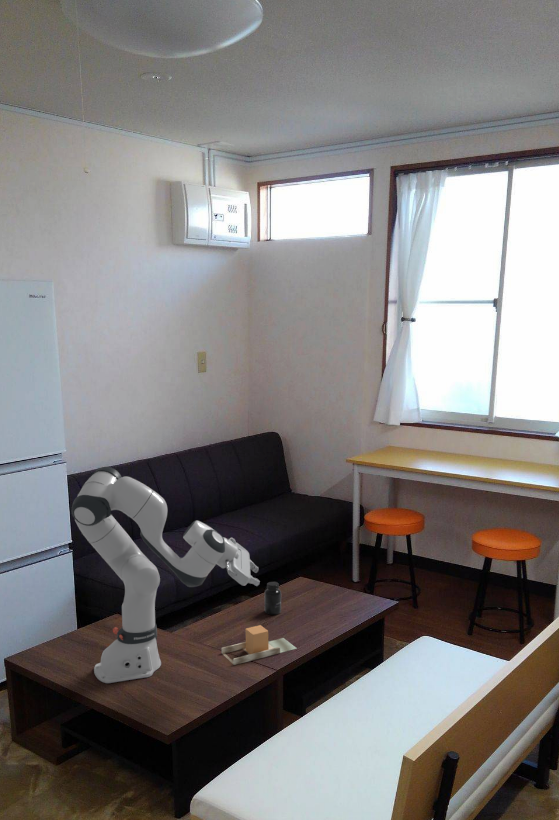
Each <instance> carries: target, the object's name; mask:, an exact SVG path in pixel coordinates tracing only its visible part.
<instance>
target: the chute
mask: <svg viewBox="0 0 559 820" xmlns="http://www.w3.org/2000/svg"><path fill="white" fill-rule="evenodd" d="M268 643H269V650H265V651H261V652H257V653H253V654H250V653H249V652H247V651H246V641H244V642H239V643H237V644H236V643H235V644H232V645H227V646H223V647H221V655H223V656H224V657H225V658H226V659H227V660H228V661H229V662H230V663H231V664H232V665H233V666H236V665H240V664H244V663H247V662H251V661H254V660H259V659H263V658H266V657H270V656H271V657H272V656H274V655H277V654H278V655H279V654H281V653H285V652H290V651H292V650H297V649H298V648H297V647H296V646H294V644H292V643H291V642H289V641H288V640H287V639H285V638H284V637H281V638H278V639H274V640H273V639H272V640H268ZM240 650H243V651H244V652H246V653H247V654H245V655H242V656H238V657H235V658H233V659H232V658H230V656H228V655H227V654H229V653H231V652H235V651H240Z"/></svg>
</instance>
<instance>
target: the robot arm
mask: <svg viewBox="0 0 559 820" xmlns="http://www.w3.org/2000/svg"><path fill="white" fill-rule="evenodd" d="M112 511H120V512H122V513H123V514H125V515H126V516H127V517H128V518H130V519H131V520H133V521H134V522H135V523H136V524H137V525H138V527H139V528H140V534H139V535H140V537H141V539H142V541H143V542H144V543H145V544H146V545H147V547H148V549H150V550H151V551H152V552H153V553H154V554H155V555H156V556H157V557H158V558H159V559H160V560H161V561H162V562H163V563H164V564H165V565H166V566H167V567H168V568H169V569H170V570H171V571H172V573H174V575H175V576H176V577H177V578H178V579H179V581H180V582H181V583H182V584H184V585H185V586H187V587H188V588H196V587H199V586H202V585H203V583H204V582H205V580H206V579H207V577H208V575H209V574H211V572H212V570H213V569H214V567H215V566H216V565H217V566H218V567H220V568H221V569H226V571H227V574H228V576H230V577H231V578H232V579H233V580H234V581H236V582H237V583H238V584H239V585H241V586H245V587H246V586H247V584H250V585H251V584H252V585H254V586H256V587H258V586H259V585H260V582H261V581H260V580H259V579H258V578H256V577H253V575H251V571H252V572H254V573H255V574H257V573H258V572H259V566H257V565H256V564H255V563H254V562H253V561H252V560H251V558H250V552H249V551H248V550H247V549H246V548H245V547H243V546H242V545H241V544H239V543H238V542H236V539H235V538H233V537H230V538H226V537H224V536H222V534H221V533H219V532H218V531H217V530H215V529H213V528H212V527H211V526H210V525H208V524H206V523H204V522H202V521H200V520H194V521H193V522H192V523H191V524H190V525H189V526H188V527H187V529H186V530H185V531H184V533H183V534H182V535H183V536H182V538H183V539H184V540H185V542H186V543H188V545H190V546H191V547H190V549H189V550H188V551H187V552H186V553H185V555H184V556H183V557H180V556H179V555H178V554H177V553H176V552H174V550H173V549H172V548H171V547H170V546H169V545H168V544H167V542H165V541H164V539H163V531H164V528H165V525H166V521H167V518H168V505H167V502H166V500H165V498H164V497H162V495H160V494H159V493H158V492H156V491H155V490H154V489H152V488H150V487H149V486H147V484H144V483H142V482H141V481H139V480H137V479H136V478H133V477H131V476H122V475H121V473H120V472H119V470H116V469H115V468H113V467H110V466H101V467H98V468H97V469H96V470H95V471H94V472H92V474H91V476H90V477H89V478H88V479H87V480H86V481H85V483H84V484H83V485H82V487H81V489H80V491H79V492H78V493H77V496H76V497H75V498H74V500H73V502H72V506H71V516H72V517H73V519H74V521H75V523H76V525H77V527H78V529H79V531H80V532H81V535H83V537H84V538H85V539H86V540H87V542H88V543H89V544H90V545H91V546H92V548H93V549H94V550H95V551H96V552H97V553H98V554H99V555H100V557H101V558H102V559H103V560H104V561H105V562H106V564H107V565H108V566H109V567H110V568H111V570H112V571H113V572H115V574H116V575H117V576H118V578H120V580H121V581H122V582H123V584H124V597H123V602H122V605H121V618H122V619H121V621H122V623H121V624H122V626H121V627H120V628H118V627H117V626H115V627H113V628H112V633H113V634H114V635H116V639H115V640H114V641H113V642H112V643H110V645H109V646H107V647H106V648H104V650H103V651H102V654H101V657H100V662H99V663H96V664H95V665H94V668H93V673H94V675H95V677H96V678H97V680H98V681H100V682H102V683H105V684H111V683H117V682H118V683H119V682H125V681H129V680H130V681H131V680H136V679H143V678H151V676H153V674H154V672H156V671H157V670H158V669H159V668H160V667H161V666H162V661H161V660H162V659H160V654H159V649H158V644H157V640H158V628H157V627H158V626H157V623H156V610H155V609H156V608H155V607H156V597H157V591H158V587H159V586H160V582H161V578H160V577H161V576H160V573H159V570H158V568H157V566H156V565H155V564H154V563H153V562H152V561H150V559H149V558H148V557H147V556H146V555H145V554H144V553H143V552H142V551H141V549H140V548H139V547H138V545H137V544H136V543H135V542H134V541H133V539H132V537H130V535H129V534H128V533H127V531H126V530H125V528H123V527H122V525H120V523H119V522H118V521H117V519H115V517H114V516H113V514H112Z"/></svg>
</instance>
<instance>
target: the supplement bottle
mask: <svg viewBox="0 0 559 820" xmlns="http://www.w3.org/2000/svg"><path fill="white" fill-rule="evenodd" d="M281 612H282V590H281V589H280V584H279V583H278V582H277V581H269V582H267V583H266V589H265V590H264V613H265V614H267V615H269V616H270V615H271V616H274V615H276V616H277V615H279V614H281Z"/></svg>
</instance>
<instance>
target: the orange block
mask: <svg viewBox="0 0 559 820" xmlns="http://www.w3.org/2000/svg"><path fill="white" fill-rule="evenodd" d="M245 642H246V651H247V652H249V653H250V654H253V653H257V652H261V651H265V650H269V643H268V642H269V630H268V629H266V628H265V627H263V626H262V625H261V624H258V625H254V626H250V627H247V628H245ZM246 651H245V652H246ZM247 652H246V653H247Z"/></svg>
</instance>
